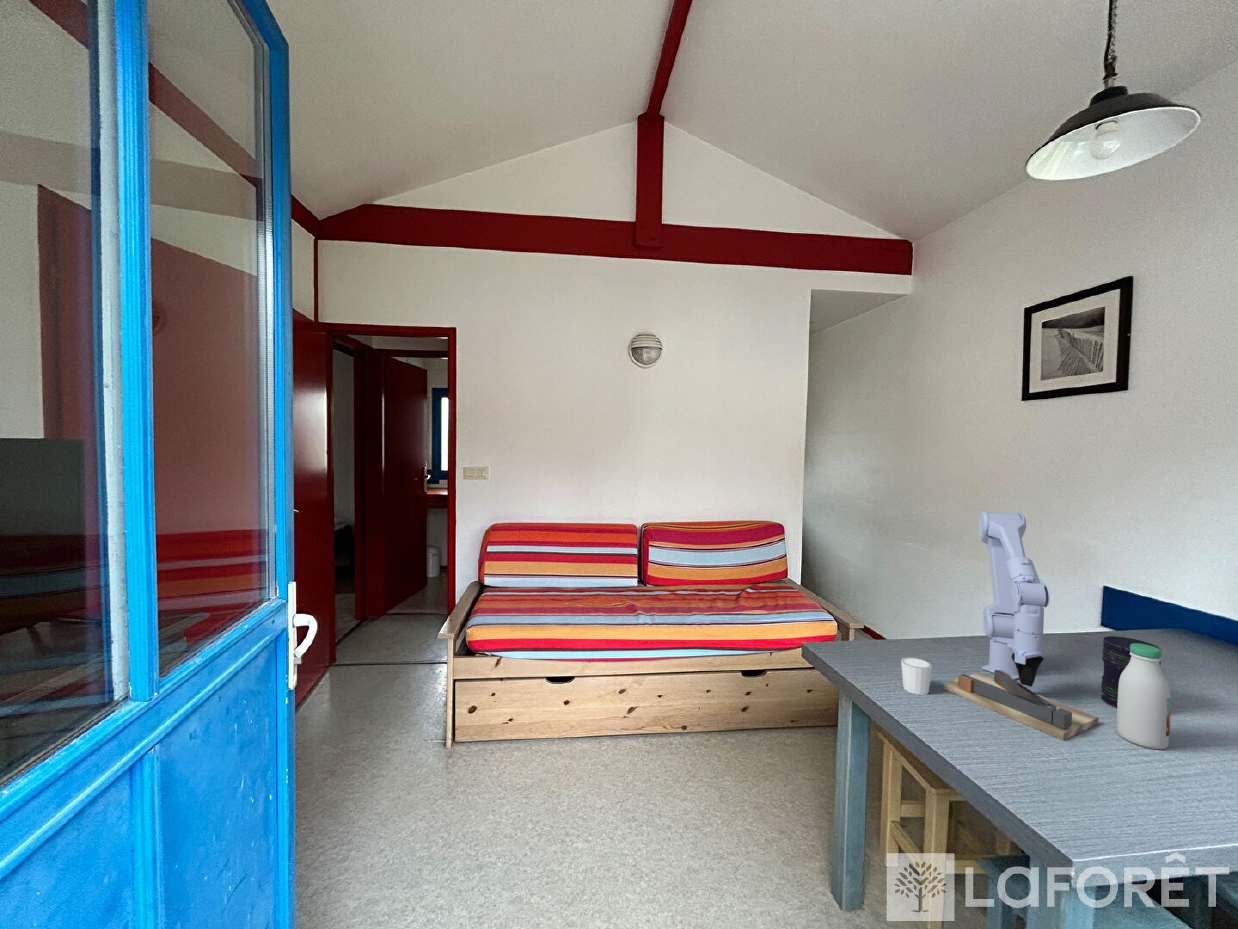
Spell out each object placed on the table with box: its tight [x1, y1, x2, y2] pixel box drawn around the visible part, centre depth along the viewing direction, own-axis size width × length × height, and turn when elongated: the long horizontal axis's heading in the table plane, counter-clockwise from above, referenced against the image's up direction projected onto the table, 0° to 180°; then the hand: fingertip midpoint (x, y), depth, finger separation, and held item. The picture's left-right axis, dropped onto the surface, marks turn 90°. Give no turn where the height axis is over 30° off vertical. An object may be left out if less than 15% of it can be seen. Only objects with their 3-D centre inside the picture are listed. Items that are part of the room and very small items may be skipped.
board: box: [943, 671, 1099, 741], centre depth 121 cm, size 15×25×2 cm, turn 25°
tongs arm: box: [993, 670, 1057, 710], centre depth 121 cm, size 2×19×3 cm, turn 176°
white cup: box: [900, 657, 933, 696], centre depth 129 cm, size 7×7×7 cm
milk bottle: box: [1116, 643, 1171, 750], centre depth 107 cm, size 8×8×20 cm
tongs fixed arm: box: [957, 673, 1072, 729], centre depth 118 cm, size 4×21×3 cm, turn 25°
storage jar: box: [1100, 635, 1162, 709], centre depth 121 cm, size 10×10×15 cm
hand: (1026, 684), depth 126 cm, fingers closed
